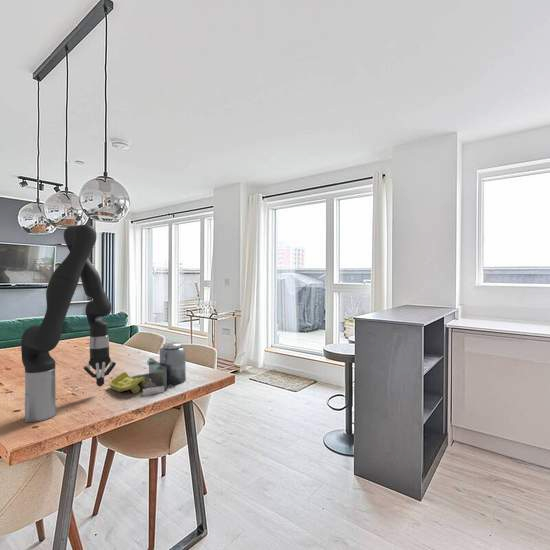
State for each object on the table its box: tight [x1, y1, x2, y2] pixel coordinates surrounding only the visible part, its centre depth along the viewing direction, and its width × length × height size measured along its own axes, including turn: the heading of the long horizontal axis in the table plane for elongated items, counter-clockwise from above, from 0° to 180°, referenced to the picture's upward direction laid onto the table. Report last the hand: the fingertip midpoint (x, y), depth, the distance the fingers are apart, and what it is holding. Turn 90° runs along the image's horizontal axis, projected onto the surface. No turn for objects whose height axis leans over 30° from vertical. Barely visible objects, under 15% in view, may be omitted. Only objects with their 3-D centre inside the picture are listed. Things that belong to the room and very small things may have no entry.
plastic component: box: [108, 371, 147, 394], centre depth 153 cm, size 20×7×10 cm
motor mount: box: [129, 341, 187, 397], centre depth 162 cm, size 23×26×18 cm
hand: (100, 385), depth 147 cm, fingers closed
